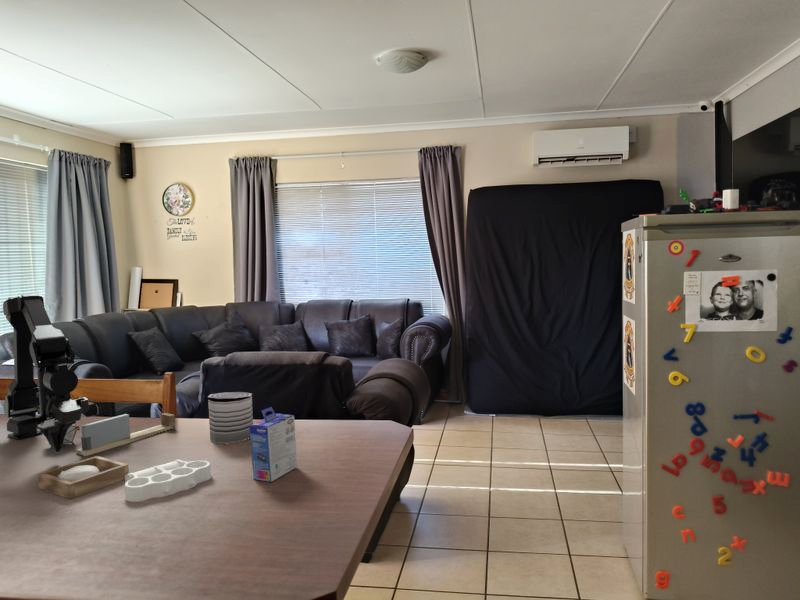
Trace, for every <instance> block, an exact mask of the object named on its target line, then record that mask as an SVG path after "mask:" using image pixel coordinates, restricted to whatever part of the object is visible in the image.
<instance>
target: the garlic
mask: <svg viewBox="0 0 800 600" xmlns="http://www.w3.org/2000/svg"><path fill="white" fill-rule="evenodd" d="M97 473H100V472H99V469H98V468H97V467H95V466H90V465H84V466H76V467H73V468H71V469H68V470H66V471H62V472H61V473H60V475H58V478H60V479H63V480H66V481H69V482H73V481H76V480H79V479H82V478H85V477H88V476H91V475H94V474H97Z"/></svg>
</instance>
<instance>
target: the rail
mask: <svg viewBox="0 0 800 600" xmlns="http://www.w3.org/2000/svg"><path fill="white" fill-rule="evenodd" d="M160 421H161V423H160V424H159V425H155V426H152V427H149V428H145V429H142V430H139V431H136V432H130V437H128V438H124V439H121V440H118V441H114V442H111V443H108V444H104V445H101V446H98V447H94V448H91V449H90V450H85V449H82V447H81V448H78V449H76V450H75V451H76V454H77V455H79V456H80V455H81V456H83V457H88V456H91V455H94V454H97V453H100V452H103V451H107V450H110V449H115V448H116V447H119V446H123V445H126V444H129V443H133V442H136V441H140V440H143V439H146V438H149V437H152V436H155V435H154V434H156V435H158V434H157V433H159V434H161V433H160V432H162V433H164V432H163V431H165V432H167V430H169V431H171V430H170V429H172V430H174V429H173V428H175V429H176V420H175V414H173V413H167V412H164V413H160ZM151 435H152V436H151ZM148 436H149V437H148ZM145 437H146V438H145Z"/></svg>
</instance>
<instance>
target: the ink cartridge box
mask: <svg viewBox="0 0 800 600" xmlns="http://www.w3.org/2000/svg"><path fill="white" fill-rule="evenodd" d="M260 412H261V413H262V416H263V419H261V420H259V421H256V422H253V424H252V425H250V449H251V452H250V453H251V461H252V462H251V464H252V465H251V466H252V475H253V476H252V477H253V480H259V481H263V482H266V483H267V482H268V483H271V482H273V481H276V480H277V479H279V478H280V477H283V475H286V474H287V473H289V472H291V471H292V470H294V469H297V468H298V460H297V459H298V457H297V443H296V441H297V440H296V428H295V427H296V425H295V415H294V414H288V413H287V414H284V413H276V412H275V410H274V409H273V407H272V406H270V407H267V408H265V409H261V411H260ZM268 412H271V414H268V415H267V413H268Z"/></svg>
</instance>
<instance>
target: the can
mask: <svg viewBox="0 0 800 600" xmlns="http://www.w3.org/2000/svg"><path fill="white" fill-rule="evenodd" d="M207 398H208V400H207V402H208V419H209V421H208V422H209V437H210V438H209V440H210V441H211V442H212V443H214V442H215V443H214V444H222V443H230V444H234V443H233V442H237V443H240V442H239V441H243V440H245V439H248V438H250V425H252V424H254V416H253V415H254V414H253V412H254V411H253V393H250V392H244V391H243V392H242V391H233V392H232V391H231V392H229V391H228V392H227V391H226V392H218V393H211V394H209V395H208V396H207ZM248 440H249V439H248ZM245 441H246V440H245ZM243 442H244V441H243Z"/></svg>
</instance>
